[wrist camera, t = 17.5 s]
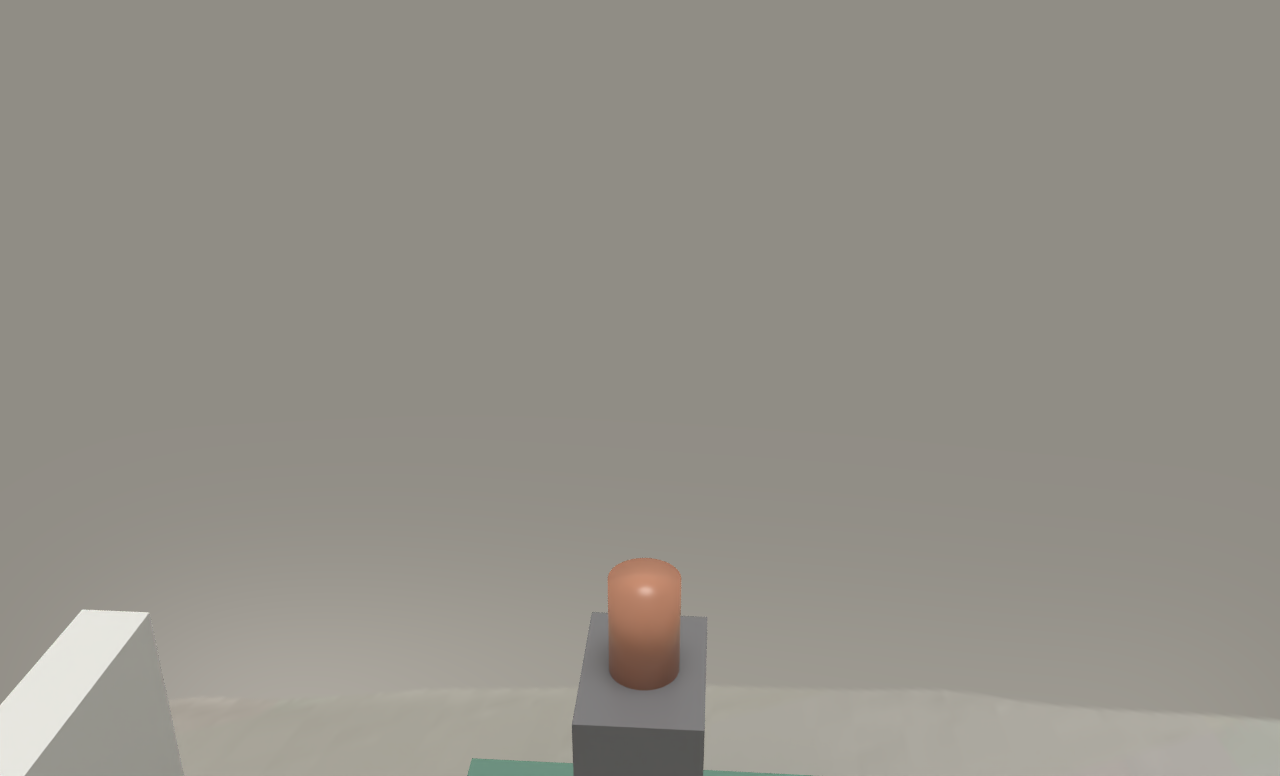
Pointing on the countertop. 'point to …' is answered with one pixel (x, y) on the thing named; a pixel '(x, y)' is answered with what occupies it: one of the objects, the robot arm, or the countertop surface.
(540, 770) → the board
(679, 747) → the plug
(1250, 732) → the countertop surface
